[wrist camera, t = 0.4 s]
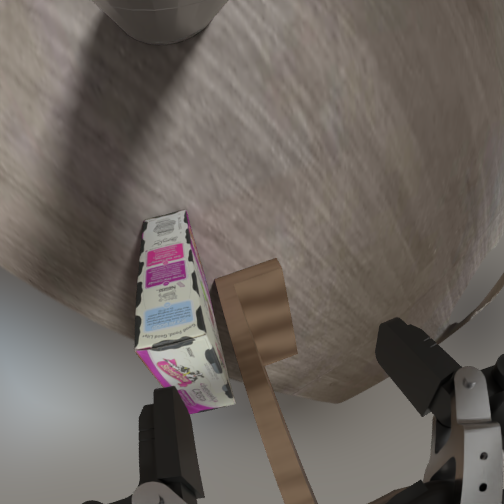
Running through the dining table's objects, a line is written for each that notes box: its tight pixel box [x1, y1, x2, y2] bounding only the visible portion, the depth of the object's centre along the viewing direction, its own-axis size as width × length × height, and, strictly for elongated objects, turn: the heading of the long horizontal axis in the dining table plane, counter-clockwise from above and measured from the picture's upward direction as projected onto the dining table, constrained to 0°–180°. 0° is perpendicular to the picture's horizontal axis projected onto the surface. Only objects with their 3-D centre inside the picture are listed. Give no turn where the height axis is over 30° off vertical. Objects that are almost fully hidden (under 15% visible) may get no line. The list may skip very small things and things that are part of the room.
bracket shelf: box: [215, 258, 410, 504], centre depth 29 cm, size 20×12×32 cm, turn 12°
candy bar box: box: [134, 210, 236, 414], centre depth 26 cm, size 11×5×16 cm, turn 7°
